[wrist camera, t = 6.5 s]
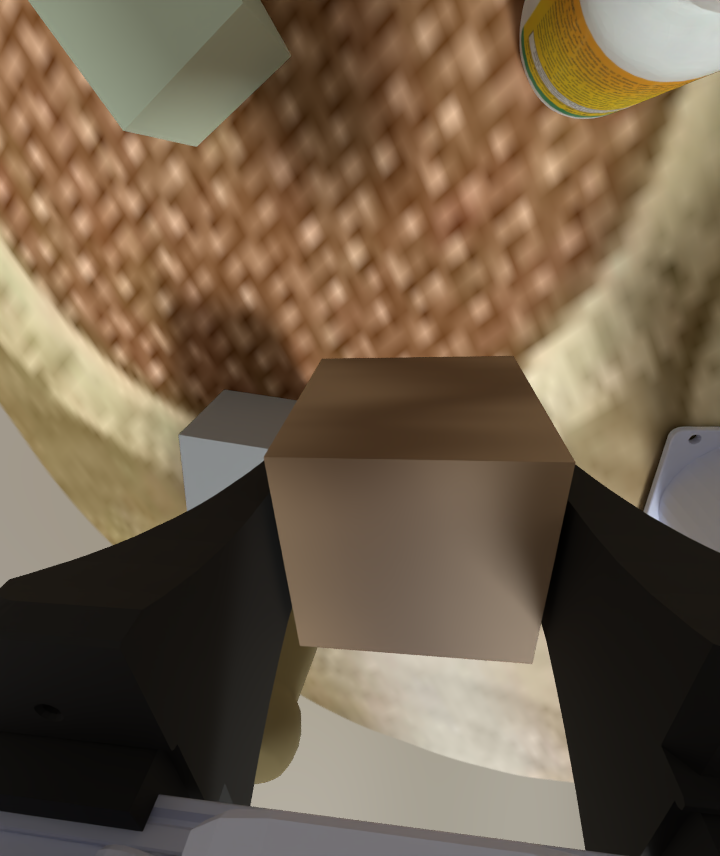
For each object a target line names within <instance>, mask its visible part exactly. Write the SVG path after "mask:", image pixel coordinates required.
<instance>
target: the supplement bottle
mask: <svg viewBox="0 0 720 856" xmlns="http://www.w3.org/2000/svg"><path fill="white" fill-rule="evenodd" d="M520 55H521V61H522V65H523V68H524V71H525V74H526V77H527V79H528V81H529V83H530V85H531V87H532V89H533V90H534V92H535V94H536V95H537V96H538V98H539V99H540V100H541V101H542V102H543V103H544V104H545V105H546V106H547V107H549V108H550V109H551V110H553V111H555V112H557V113H559V114H561V115H564V116H567V117H571V118H579V119H590V118H597V117H602V116H605V115H609V114H611V113H614V112H617V111H620V110H622V109H625V108H628V107H630V106H633V105H636V104H638V103H640V102H643V101H645V100H648V99H650V98H653V97H656V96H658V95H660V94H663V93H665V92H667V91H670V90H672V89H675V88H677V87H680V86H683V85H685V84H688V83H690V82H692V81H695V80H697V79H700V78H702V77H705V76H708V75H710V74H713V73H715V72H718V71H720V0H525V2H524V6H523V11H522V16H521V23H520Z"/></svg>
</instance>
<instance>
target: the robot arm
mask: <svg viewBox="0 0 720 856" xmlns="http://www.w3.org/2000/svg"><path fill="white" fill-rule="evenodd" d="M693 435H696V437H695V438H694V439H692V440H689V438H690V437H691V436H693ZM291 610H292V602H291V597H290V592H289V587H288V582H287V576H286V571H285V566H284V561H283V556H282V550H281V545H280V540H279V535H278V530H277V524H276V519H275V514H274V509H273V504H272V498H271V493H270V488H269V483H268V478H267V472H266V467H265V462H264V461H263V462H261V463H260V464H259V465H257V466H256V467H255V468H254V469H252V470H251V471H250V472H248V473H247V474H245V475H244V476H242V477H241V478H240V479H238V480H237V481H235V482H234V483H232V484H231V485H229V486H228V487H226V488H225V489H223V490H222V491H220V492H219V493H217V494H216V495H214V496H213V497H211V498H209V499H208V500H206V501H204V502H203V503H201V504H199V505H197V506H196V507H194V508H192V509H190V510H188V511H187V512H185V513H183V514H181V515H179V516H177V517H175V518H173V519H171V520H169V521H167V522H165V523H163V524H161V525H158V526H156V527H154V528H152V529H150V530H148V531H146V532H144V533H141V534H139V535H137V536H135V537H132V538H130V539H128V540H125V541H123V542H120V543H118V544H115V545H113V546H110V547H108V548H105V549H102V550H100V551H97V552H94V553H91V554H89V555H86V556H83V557H80V558H77V559H74V560H72V561H69V562H65V563H62V564H59V565H56V566H52V567H49V568H46V569H43V570H39V571H36V572H33V573H30V574H26V575H23V576H20V577H16V578H13V579H10V580H8V581H7V582H6V583H5V584H4V585H3V586H2V587H1V588H0V856H720V427H677V428H675V429H673V430H672V431H671V432H670V433H669V435H668V437H667V440H666V444H665V447H664V450H663V453H662V456H661V459H660V462H659V465H658V468H657V471H656V474H655V477H654V480H653V484H652V487H651V490H650V493H649V496H648V499H647V502H646V505H645V508H644V511H641V510H640V509H638V508H637V507H635V506H634V505H632V504H630V503H629V502H627V501H626V500H624V499H623V498H621V497H620V496H618V495H617V494H615V493H614V492H612V491H611V490H609V489H608V488H607V487H605V486H604V485H602V484H601V483H600V482H598V481H597V480H595V479H594V478H593V477H591V476H590V475H589V474H587V473H586V472H585V471H583V470H582V469H581V468H579V467H578V466H577V465H575V467H574V472H573V476H572V481H571V486H570V490H569V495H568V500H567V504H566V509H565V514H564V518H563V523H562V528H561V532H560V537H559V542H558V546H557V551H556V556H555V560H554V565H553V570H552V574H551V579H550V584H549V588H548V593H547V598H546V602H545V607H544V612H543V616H542V621H541V623H542V627H543V630H544V634H545V638H546V641H547V646H548V651H549V655H550V660H551V664H552V669H553V674H554V678H555V683H556V688H557V693H558V698H559V703H560V708H561V713H562V718H563V723H564V728H565V733H566V739H567V744H568V750H569V756H570V761H571V767H572V772H573V778H574V783H575V789H576V794H577V800H578V806H579V813H580V819H581V825H582V831H583V838H584V844H585V850H586V851H585V850H577V849H570V848H562V847H555V846H547V845H540V844H532V843H526V842H519V841H511V840H503V839H496V838H488V837H481V836H472V835H465V834H457V833H450V832H443V831H435V830H426V829H420V828H412V827H404V826H397V825H389V824H382V823H374V822H367V821H359V820H351V819H344V818H336V817H329V816H321V815H313V814H306V813H298V812H291V811H283V810H275V809H266V808H258V807H251V806H250V803H251V798H252V793H253V787H254V782H255V776H256V771H257V765H258V759H259V754H260V749H261V744H262V739H263V734H264V729H265V724H266V719H267V714H268V709H269V703H270V699H271V694H272V690H273V685H274V680H275V676H276V671H277V667H278V662H279V658H280V653H281V649H282V645H283V641H284V636H285V632H286V628H287V624H288V620H289V617H290V613H291Z"/></svg>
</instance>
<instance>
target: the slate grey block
mask: <svg viewBox="0 0 720 856" xmlns="http://www.w3.org/2000/svg"><path fill="white" fill-rule="evenodd" d="M296 402H297V400H290V399H284V398H277V397H270V396H264V395H257V394H251V393H244V392H237V391H231V390H223V391H222V392H221V393H220V394H219V395H218V396H217V397H216V398H215V399H214V400H213V401H212V402H211V403H210V404H209V405H208V406H207V407H206V408H205V409H204V410H203V411H202V412H201V413H200V414H199V415H198V416H197V417H196V418H195V419H194V420H193V421H192V422H191V423H190V424H189V425H188V426H187V427H186V428H185V429H184V430H183V431H182V432H181V433H180V434H179V443H180V452H181V461H182V469H183V478H184V487H185V495H186V504H187V511H188V510H190V509H192V508H194V507H196V506H197V505H199V504H201V503H203V502H204V501H206V500H208V499H209V498H211V497H213V496H214V495H216V494H217V493H219V492H220V491H222V490H223V489H225V488H226V487H228V486H229V485H231V484H232V483H234V482H235V481H237V480H238V479H240V478H241V477H242V476H244V475H245V474H247V473H248V472H250V471H251V470H252V469H254V468H255V467H256V466H257V465H259V464H260V463H261V462H263V461H264V456H265V454H266V452H267V450H268V449H269V447H270V445H271V444H272V442H273V440H274V439H275V437H276V435H277V434H278V432H279V430H280V429H281V427H282V425H283V424H284V422H285V420H286V419H287V417H288V415H289V414H290V412H291V410H292V408H293V407H294V405H295V403H296Z"/></svg>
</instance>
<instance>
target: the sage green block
mask: <svg viewBox="0 0 720 856" xmlns="http://www.w3.org/2000/svg"><path fill="white" fill-rule="evenodd" d="M28 1H29V2H30V3H31V5H32V6H33V8H34V9H35V10H36V12H37V13H38V14H39V16H40V17H41V19H42V20H43V21H44V23H45V24H46V25H47V27H48V28H49V29H50V31H51V32H52V34H53V35H54V36H55V38H56V39H57V40H58V42H59V43H60V45H61V46H62V47H63V49H64V50H65V51H66V53H67V54H68V55H69V57H70V58H71V60H72V61H73V62H74V64H75V65H76V66H77V68H78V69H79V71H80V72H81V73H82V75H83V76H84V77H85V79H86V80H87V81H88V83H89V84H90V86H91V87H92V88H93V90H94V91H95V92H96V94H97V95H98V97H99V98H100V99H101V101H102V102H103V103H104V105H105V106H106V107H107V109H108V110H109V112H110V113H111V114H112V116H113V117H114V118H115V120H116V121H117V123H118V124H119V125H120V127H121V128H122V129H123V131H127V132H132V133H136V134H141V135H145V136H150V137H155V138H159V139H164V140H168V141H173V142H177V143H182V144H187V145H191V146H196V147H197V146H198V145H199V144H200V143H201V142H202V141H203V140H204V139H205V138H206V137H207V136H208V135H209V134H210V133H211V132H213V131H214V130H215V129H216V128H217V127H218V126H219V125H220V124H221V123H222V122H223V121H224V120H225V119H226V118H227V117H228V116H229V115H230V114H231V113H232V112H233V111H234V110H236V109H237V108H238V107H239V106H240V105H241V104H242V103H243V102H244V101H245V100H246V99H247V98H248V97H249V96H250V95H251V94H252V93H253V92H254V91H255V90H256V89H257V88H259V87H260V86H261V85H262V84H263V83H264V82H265V81H266V80H267V79H268V78H269V77H270V76H271V75H272V74H273V73H274V72H275V71H276V70H277V69H278V68H279V67H280V66H282V65H283V64H284V63H285V62H286V61H287V60H288V59H289V58H290V57H291V56H292V55H291V54H290V52H289V50H288V48H287V47H286V45H285V43H284V41H283V40H282V38H281V36H280V34H279V32H278V31H277V29H276V27H275V25H274V24H273V22H272V20H271V18H270V16H269V15H268V13H267V11H266V9H265V8H264V6H263V4H262V2H261V1H260V0H28Z"/></svg>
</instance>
